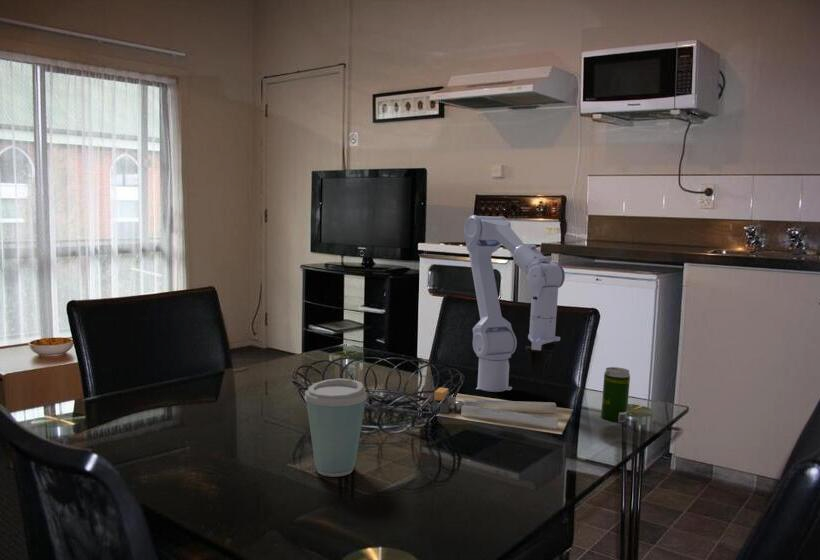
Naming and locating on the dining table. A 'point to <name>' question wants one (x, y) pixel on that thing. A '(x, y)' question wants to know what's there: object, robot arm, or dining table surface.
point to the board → (560, 412)
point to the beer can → (615, 394)
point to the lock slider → (440, 393)
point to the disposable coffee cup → (335, 424)
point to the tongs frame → (498, 415)
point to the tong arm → (509, 406)
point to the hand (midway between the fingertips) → (539, 375)
